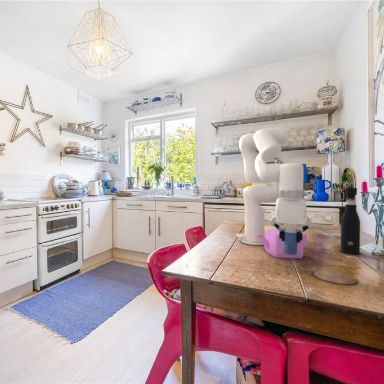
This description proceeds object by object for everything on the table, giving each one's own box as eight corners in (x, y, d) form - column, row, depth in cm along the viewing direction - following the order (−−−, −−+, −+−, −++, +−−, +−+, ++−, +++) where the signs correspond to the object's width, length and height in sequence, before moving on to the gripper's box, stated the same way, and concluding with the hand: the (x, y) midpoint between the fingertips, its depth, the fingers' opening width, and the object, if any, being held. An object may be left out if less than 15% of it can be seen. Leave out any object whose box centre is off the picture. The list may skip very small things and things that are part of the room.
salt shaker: (283, 253, 91) (283, 228, 91) (283, 250, 95) (283, 226, 95) (297, 255, 89) (298, 229, 88) (296, 252, 93) (297, 227, 92)
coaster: (315, 280, 79) (315, 279, 79) (311, 269, 89) (311, 268, 89) (360, 287, 73) (360, 286, 73) (351, 275, 83) (351, 274, 83)
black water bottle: (351, 250, 111) (352, 187, 110) (363, 254, 105) (365, 187, 104) (336, 250, 112) (337, 187, 111) (348, 254, 106) (349, 188, 104)
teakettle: (295, 262, 97) (296, 232, 97) (254, 252, 111) (254, 227, 111) (311, 254, 107) (311, 227, 106) (271, 246, 121) (271, 223, 120)
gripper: (317, 194, 89) (316, 241, 90) (266, 194, 98) (265, 236, 99) (320, 196, 83) (319, 246, 84) (265, 195, 92) (265, 241, 93)
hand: (290, 240), depth 92 cm, fingers closed on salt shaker, 4 cm apart
